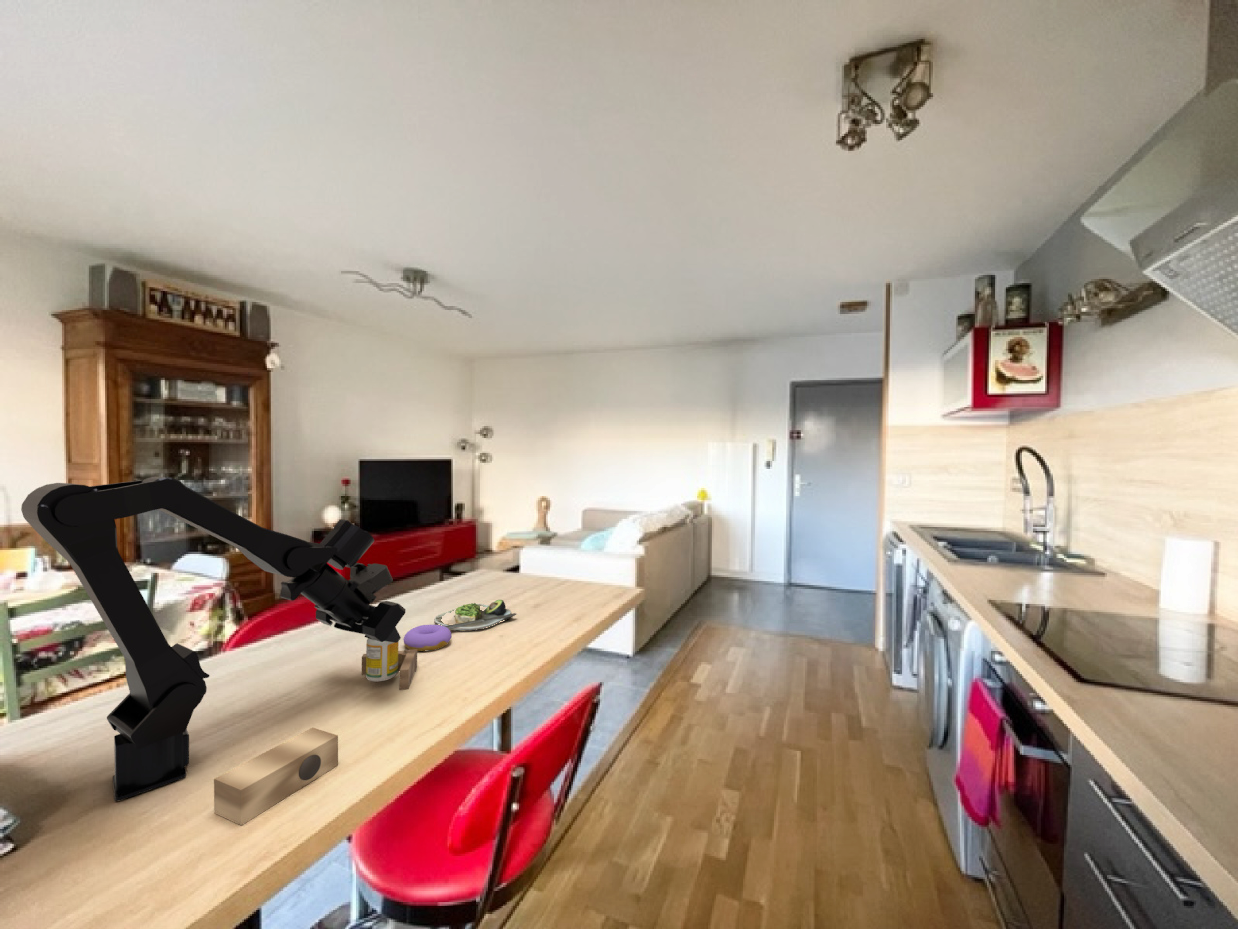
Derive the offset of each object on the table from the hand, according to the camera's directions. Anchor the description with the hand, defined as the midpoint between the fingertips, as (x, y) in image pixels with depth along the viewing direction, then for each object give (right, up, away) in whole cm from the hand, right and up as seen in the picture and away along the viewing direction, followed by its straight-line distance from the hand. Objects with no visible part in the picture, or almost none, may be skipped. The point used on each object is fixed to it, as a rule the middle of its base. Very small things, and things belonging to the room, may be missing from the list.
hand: (389, 637), depth 93 cm
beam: (0, -8, -31) cm, 32 cm away
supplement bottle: (-1, -7, -1) cm, 7 cm away
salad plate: (+6, -8, +34) cm, 36 cm away
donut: (+1, -8, +17) cm, 19 cm away
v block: (+1, -8, +2) cm, 8 cm away
